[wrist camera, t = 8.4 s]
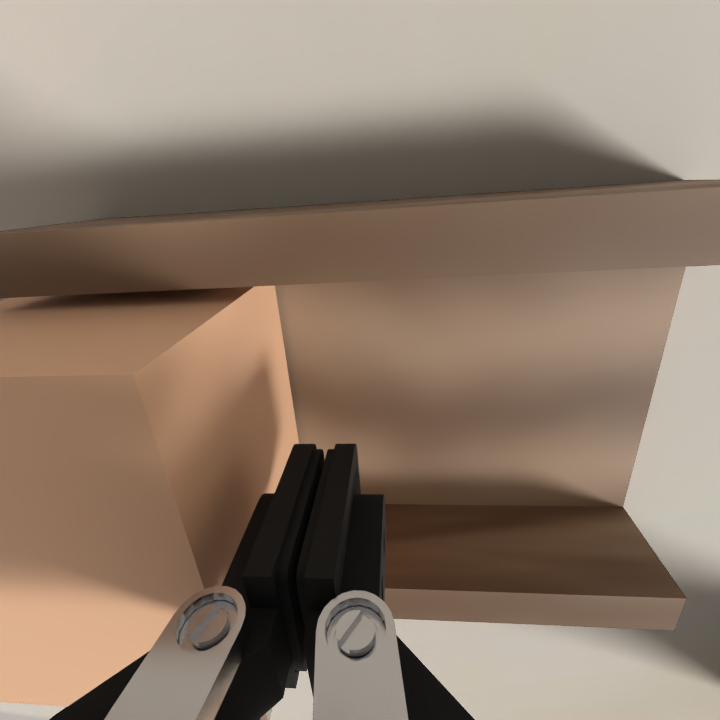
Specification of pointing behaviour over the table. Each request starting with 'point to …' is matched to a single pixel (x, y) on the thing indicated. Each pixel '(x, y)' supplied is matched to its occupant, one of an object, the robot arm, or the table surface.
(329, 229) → the chute
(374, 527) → the robot arm
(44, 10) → the table surface
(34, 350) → the block
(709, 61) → the table surface
